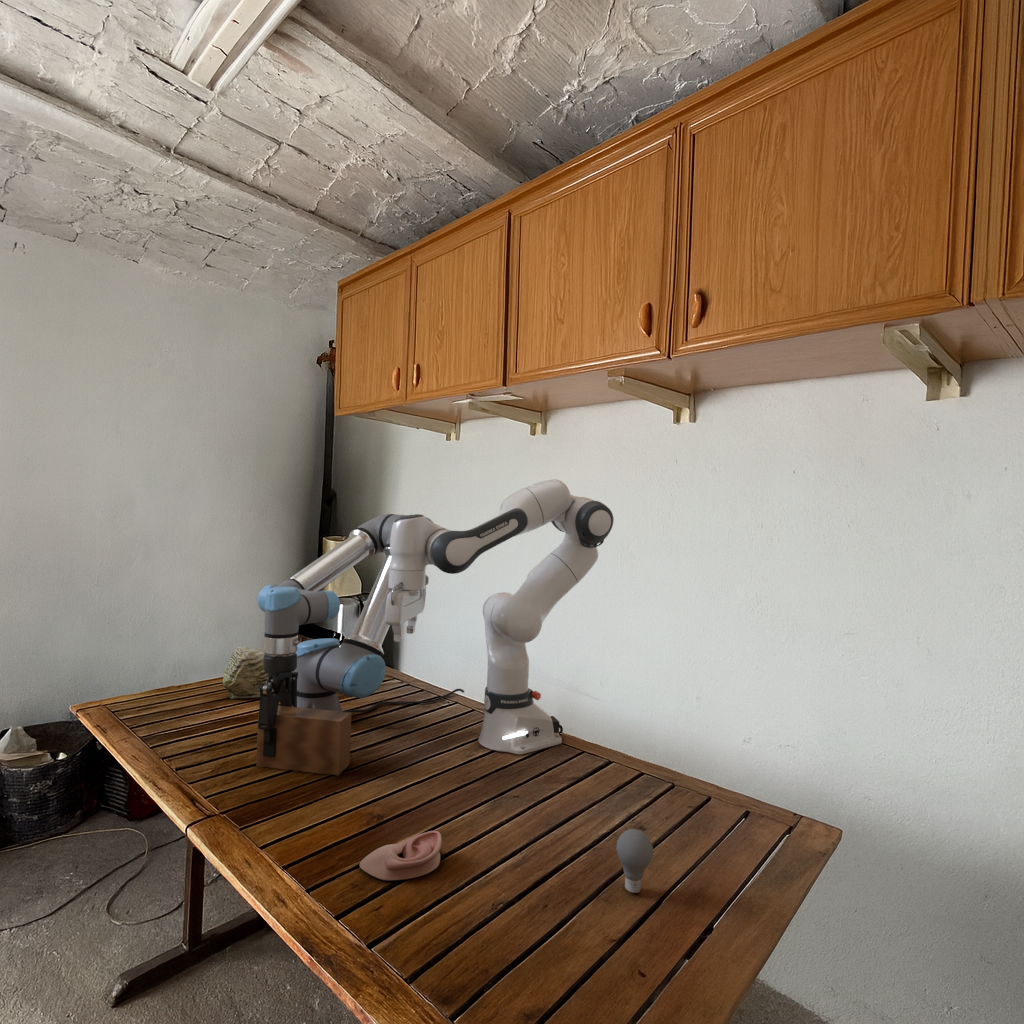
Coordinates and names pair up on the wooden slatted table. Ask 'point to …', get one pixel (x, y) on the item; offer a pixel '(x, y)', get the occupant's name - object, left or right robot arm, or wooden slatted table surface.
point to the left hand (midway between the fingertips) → (277, 750)
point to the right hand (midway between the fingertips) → (404, 637)
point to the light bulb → (634, 857)
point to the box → (309, 741)
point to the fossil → (245, 673)
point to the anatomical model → (405, 858)
